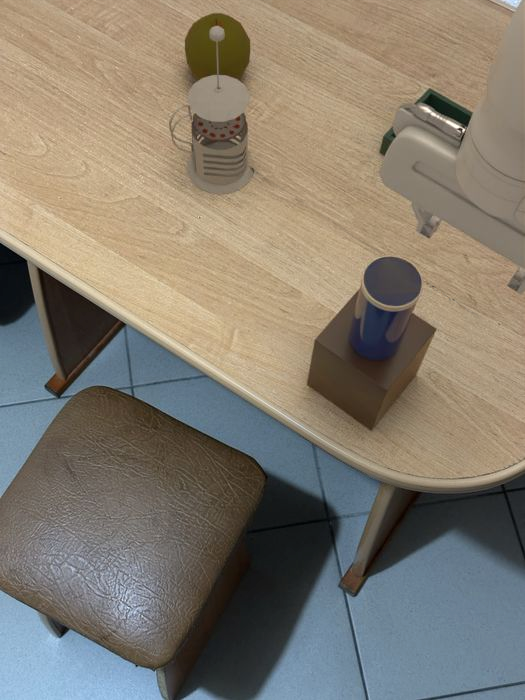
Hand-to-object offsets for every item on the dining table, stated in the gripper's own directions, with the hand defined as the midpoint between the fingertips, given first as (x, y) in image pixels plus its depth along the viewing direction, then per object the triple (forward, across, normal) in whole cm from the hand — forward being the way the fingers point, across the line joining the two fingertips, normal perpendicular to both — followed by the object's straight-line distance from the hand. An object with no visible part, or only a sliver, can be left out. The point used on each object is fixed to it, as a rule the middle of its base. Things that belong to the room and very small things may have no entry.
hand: (471, 257), depth 75 cm
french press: (+35, -41, +14) cm, 55 cm away
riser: (+33, -6, -1) cm, 34 cm away
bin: (+35, -17, +36) cm, 53 cm away
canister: (+21, -6, -1) cm, 22 cm away
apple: (+35, -51, +29) cm, 69 cm away
